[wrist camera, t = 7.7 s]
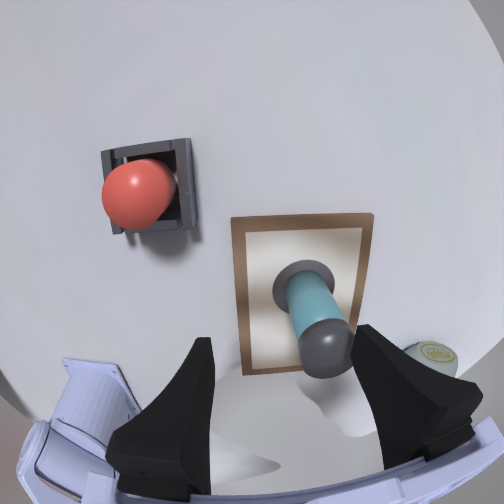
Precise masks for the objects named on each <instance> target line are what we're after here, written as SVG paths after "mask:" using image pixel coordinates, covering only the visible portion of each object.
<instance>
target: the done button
mask: <svg viewBox="0 0 504 504" xmlns="http://www.w3.org/2000/svg"><path fill="white" fill-rule="evenodd" d="M175 190H176V183H175V178H174V176H173V173H172V172H171V170H170V169H169V167H168V166H167V165H166V164H164V163H163V162H161V161H159V160H157V159H153V158H143V159H139V160H136V161H133V162H129V163H126V164H123V165H121V166H118V167H117V168H115V169H114V170H113V171H112V172H111V173H110V174H109V175H108V176H107V178H106V180H105V182H104V185H103V188H102V202H103V206H104V209H105V211H106V213H107V215H108V216H109V218H110V219H111V220H112V221H113V222H114V223H115V224H117V225H118V226H120V227H122V228H124V229H127V230H141V229H145V228H147V227H149V226H150V225H152V224H153V223H154V222H155V221H156V220H157V219H158V218H159V216H160V215H161V214H162V213H163V212H164V211H165V210H166V208H167V207H168V206H169V205H170V204H171V202H172V200H173V198H174V195H175Z"/></svg>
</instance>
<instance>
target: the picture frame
mask: <svg viewBox="0 0 504 504" xmlns="http://www.w3.org/2000/svg"><path fill="white" fill-rule="evenodd" d="M373 221H374V215H373V214H372V213H338V214H300V215H273V216H251V217H232V218H231V232H232V247H233V262H234V276H235V290H236V303H237V316H238V328H239V340H240V352H241V363H242V374H243V375H260V374H273V373H283V372H294V371H303V370H304V369H303V366H302V363H301V359H300V355H299V351H298V342H297V338H296V334H295V331H294V327H293V324H292V320H291V317H290V313H289V310H288V306H287V302H286V299H285V295H284V286H285V283H286V282H287V280H288V279H289V278H290V277H291V276H292V275H293V274H295V273H297V272H299V271H303V270H311V271H315V272H317V273H319V274H320V275H321V276H322V278H323V279H324V281H325V283H326V285H327V287H328V288H329V290H330V292H331V294H332V296H333V298H334V299H335V301H336V303H337V305H338V307H339V309H340V311H341V312H342V314H343V316H344V318H345V320H346V322H347V323H348V324H349V325H350V326H351V328H352V330H353V332H354V334H355V331H356V327H357V322H358V317H359V312H360V307H361V302H362V297H363V292H364V286H365V280H366V274H367V268H368V261H369V254H370V247H371V239H372V230H373Z"/></svg>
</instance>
